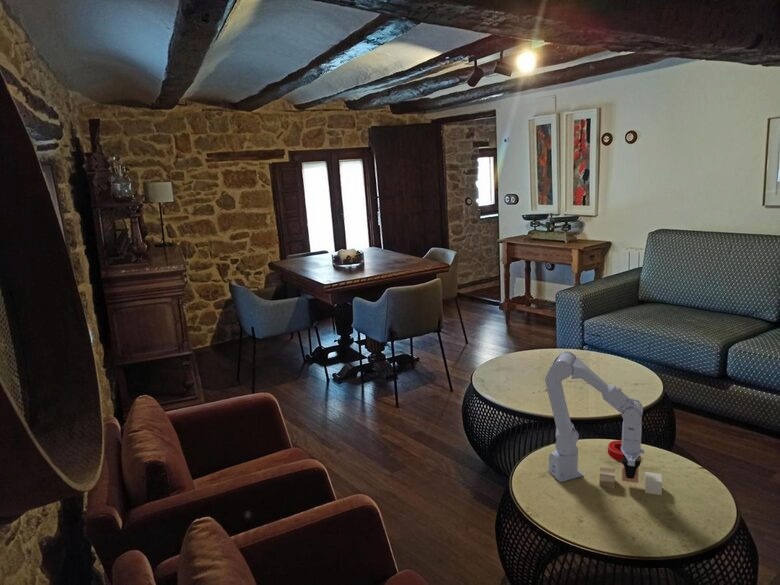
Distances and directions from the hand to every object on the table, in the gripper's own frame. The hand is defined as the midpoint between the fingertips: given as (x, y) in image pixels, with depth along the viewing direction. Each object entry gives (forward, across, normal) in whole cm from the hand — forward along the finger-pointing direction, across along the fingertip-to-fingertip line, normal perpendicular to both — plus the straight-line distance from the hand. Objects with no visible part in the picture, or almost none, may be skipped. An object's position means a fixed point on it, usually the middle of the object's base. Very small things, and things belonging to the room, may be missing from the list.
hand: (629, 473), depth 179 cm
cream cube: (+5, 0, -7) cm, 9 cm away
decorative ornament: (+5, +20, +2) cm, 21 cm away
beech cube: (+5, 0, +7) cm, 9 cm away
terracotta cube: (+2, 0, 0) cm, 2 cm away
